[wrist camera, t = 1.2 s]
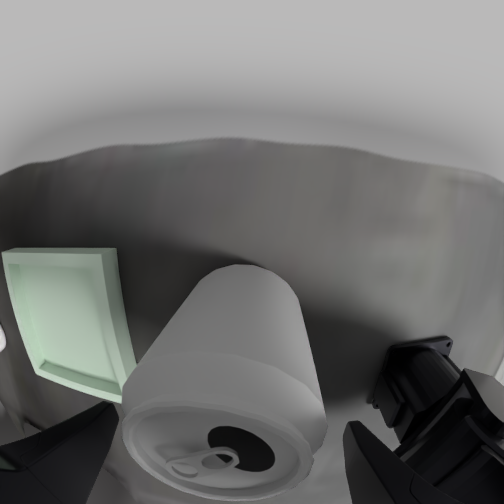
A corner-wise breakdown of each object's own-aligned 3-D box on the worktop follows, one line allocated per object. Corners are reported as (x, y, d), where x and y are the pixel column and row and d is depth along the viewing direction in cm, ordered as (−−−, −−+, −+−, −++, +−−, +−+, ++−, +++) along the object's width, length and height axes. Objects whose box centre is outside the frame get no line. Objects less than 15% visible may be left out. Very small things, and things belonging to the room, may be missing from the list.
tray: (116, 248, 17) (101, 254, 16) (144, 393, 20) (136, 407, 18) (15, 247, 18) (1, 252, 16) (46, 364, 21) (36, 373, 19)
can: (316, 337, 18) (356, 487, 6) (222, 372, 19) (185, 511, 7) (272, 240, 17) (278, 349, 5) (170, 287, 18) (62, 403, 6)
